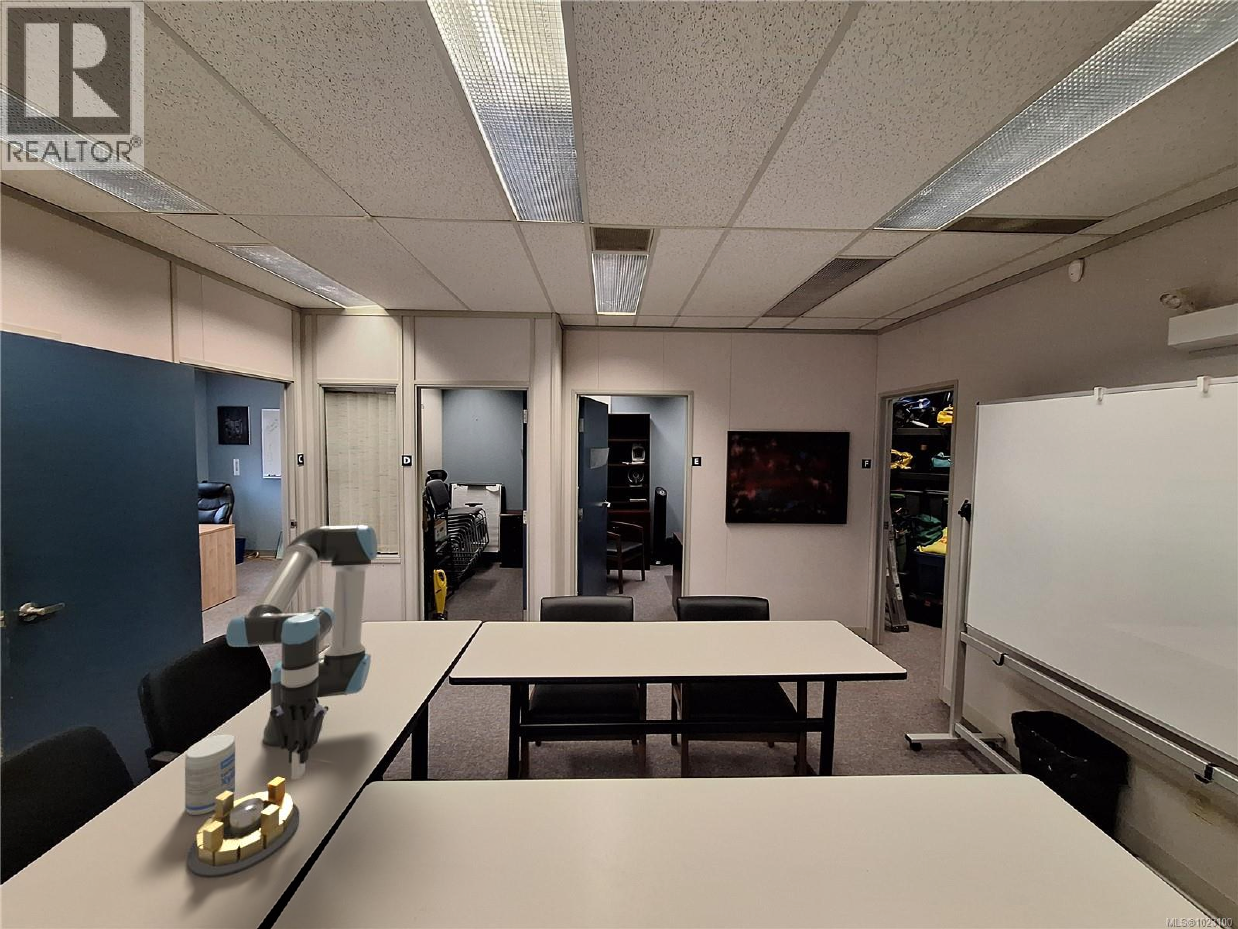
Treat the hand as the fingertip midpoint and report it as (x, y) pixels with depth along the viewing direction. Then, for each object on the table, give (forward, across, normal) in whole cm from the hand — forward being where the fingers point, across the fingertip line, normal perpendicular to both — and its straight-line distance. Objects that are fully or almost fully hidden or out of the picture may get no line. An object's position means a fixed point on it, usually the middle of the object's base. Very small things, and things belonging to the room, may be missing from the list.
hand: (298, 775), depth 112 cm
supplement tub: (+10, +24, -4) cm, 27 cm away
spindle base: (+10, +8, +6) cm, 14 cm away
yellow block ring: (+9, +8, +6) cm, 13 cm away
